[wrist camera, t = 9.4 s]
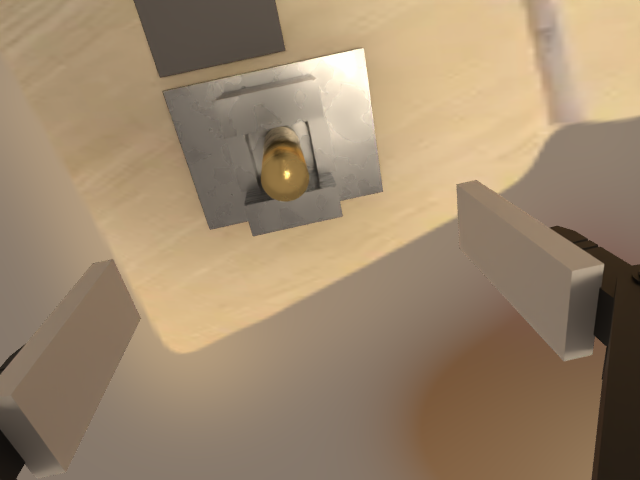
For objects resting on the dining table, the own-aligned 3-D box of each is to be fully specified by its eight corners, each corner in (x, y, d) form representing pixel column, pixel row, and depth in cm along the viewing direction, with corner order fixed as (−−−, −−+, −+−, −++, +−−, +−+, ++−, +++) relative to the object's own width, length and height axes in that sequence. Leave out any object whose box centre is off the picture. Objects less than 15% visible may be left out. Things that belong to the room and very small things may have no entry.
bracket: (165, 90, 33) (140, 100, 27) (361, 47, 33) (382, 47, 27) (211, 225, 38) (199, 260, 32) (380, 188, 38) (401, 215, 32)
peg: (260, 130, 34) (255, 160, 25) (295, 123, 34) (304, 150, 25) (268, 165, 35) (267, 205, 26) (302, 158, 35) (313, 196, 26)
